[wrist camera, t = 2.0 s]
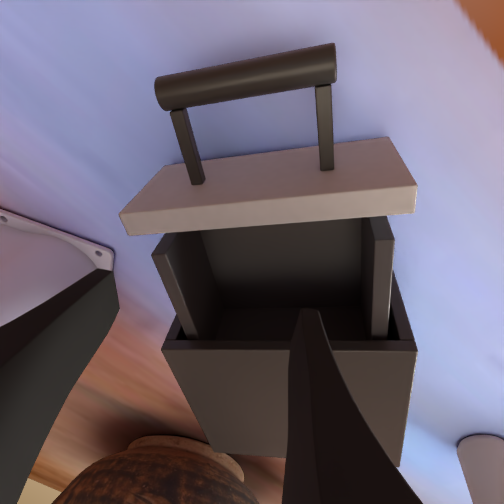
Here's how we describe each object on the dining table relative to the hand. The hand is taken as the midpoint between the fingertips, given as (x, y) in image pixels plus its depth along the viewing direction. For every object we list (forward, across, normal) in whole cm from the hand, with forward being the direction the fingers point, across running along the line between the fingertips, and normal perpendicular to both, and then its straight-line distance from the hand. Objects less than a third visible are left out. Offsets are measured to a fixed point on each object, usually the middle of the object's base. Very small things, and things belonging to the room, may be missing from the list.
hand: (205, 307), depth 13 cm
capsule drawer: (+9, -2, 0) cm, 9 cm away
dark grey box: (+10, -5, +11) cm, 15 cm away
